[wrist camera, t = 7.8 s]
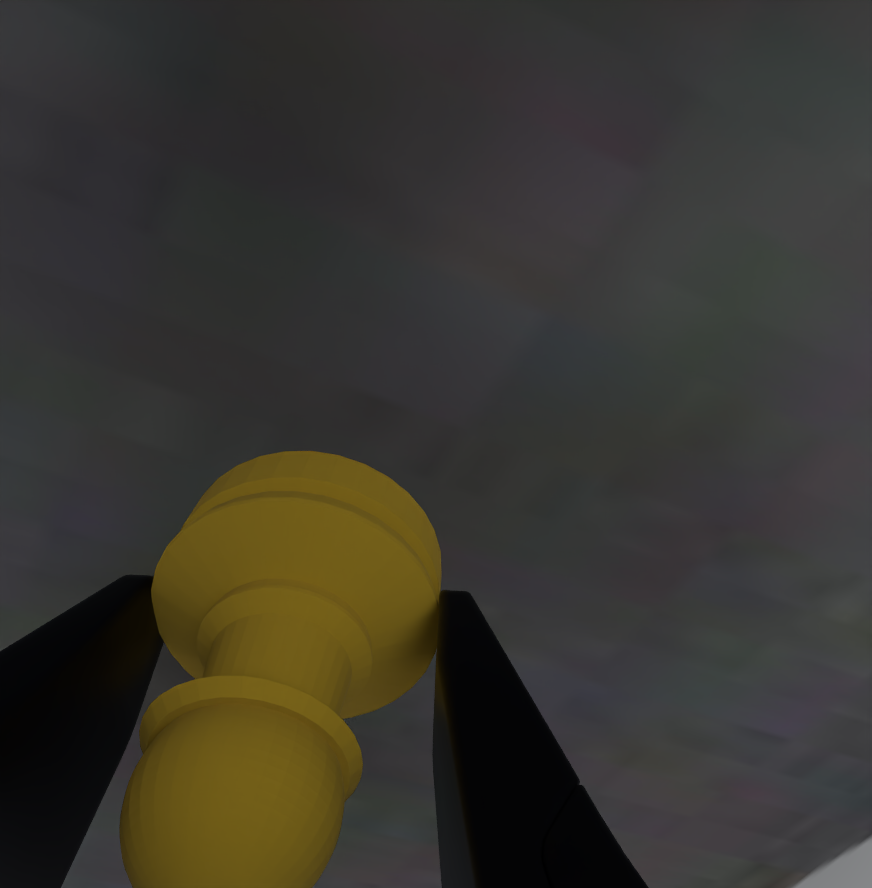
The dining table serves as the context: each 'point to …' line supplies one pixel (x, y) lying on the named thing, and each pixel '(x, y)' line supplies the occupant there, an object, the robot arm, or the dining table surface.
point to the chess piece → (276, 668)
